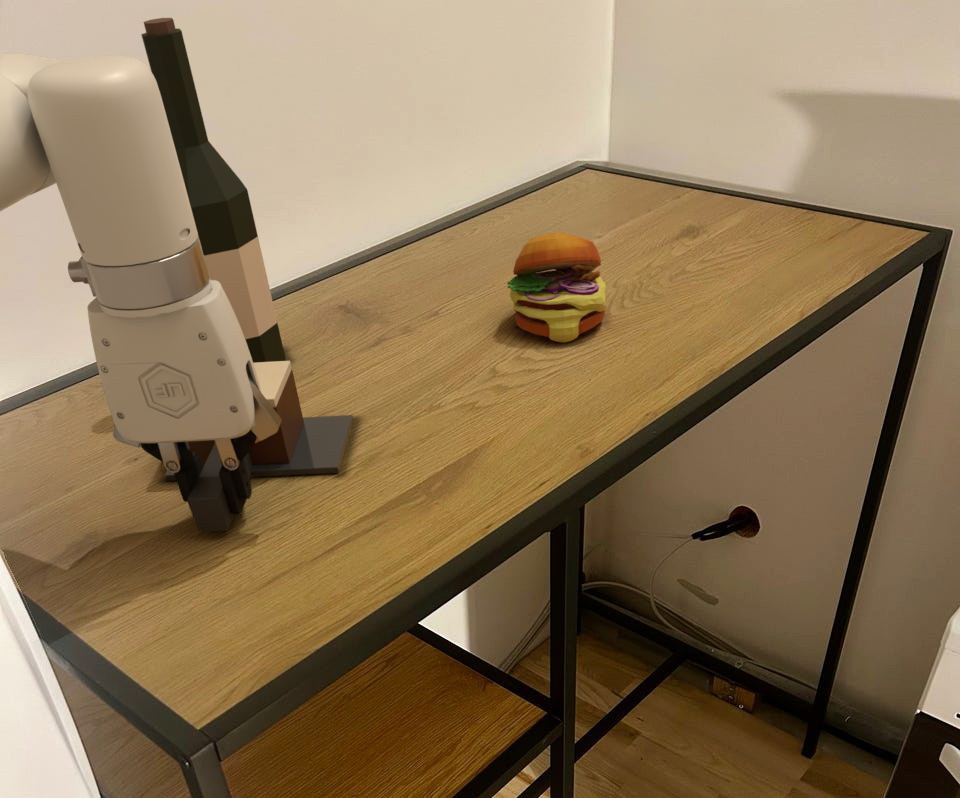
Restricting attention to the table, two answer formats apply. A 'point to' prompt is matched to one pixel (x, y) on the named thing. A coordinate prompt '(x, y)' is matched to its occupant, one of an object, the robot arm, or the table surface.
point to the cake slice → (285, 402)
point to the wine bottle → (214, 196)
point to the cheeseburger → (558, 287)
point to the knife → (212, 496)
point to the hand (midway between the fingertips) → (220, 504)
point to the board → (310, 449)
